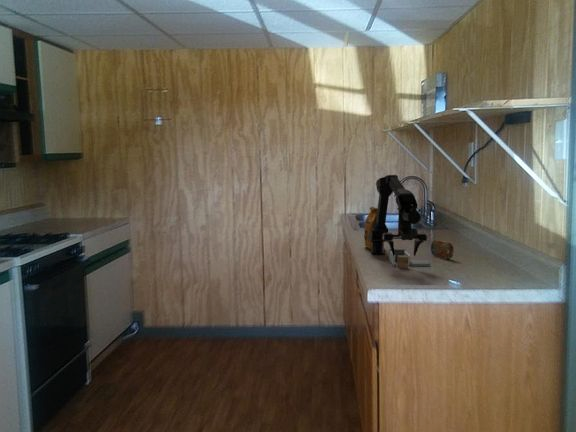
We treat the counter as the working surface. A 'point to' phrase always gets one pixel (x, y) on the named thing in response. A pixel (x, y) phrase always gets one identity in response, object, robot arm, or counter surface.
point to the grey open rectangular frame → (398, 253)
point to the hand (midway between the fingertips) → (404, 255)
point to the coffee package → (370, 226)
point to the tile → (419, 263)
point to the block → (402, 261)
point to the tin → (442, 249)
